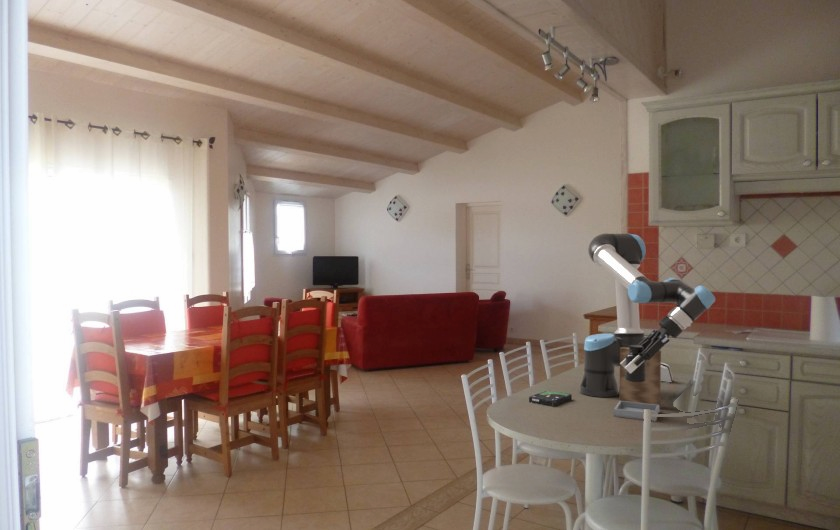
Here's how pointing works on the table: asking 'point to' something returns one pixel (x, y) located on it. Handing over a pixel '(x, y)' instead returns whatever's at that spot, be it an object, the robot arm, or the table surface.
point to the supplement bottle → (640, 371)
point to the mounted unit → (642, 390)
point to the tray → (634, 409)
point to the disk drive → (550, 398)
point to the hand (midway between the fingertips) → (625, 368)
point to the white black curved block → (666, 373)
